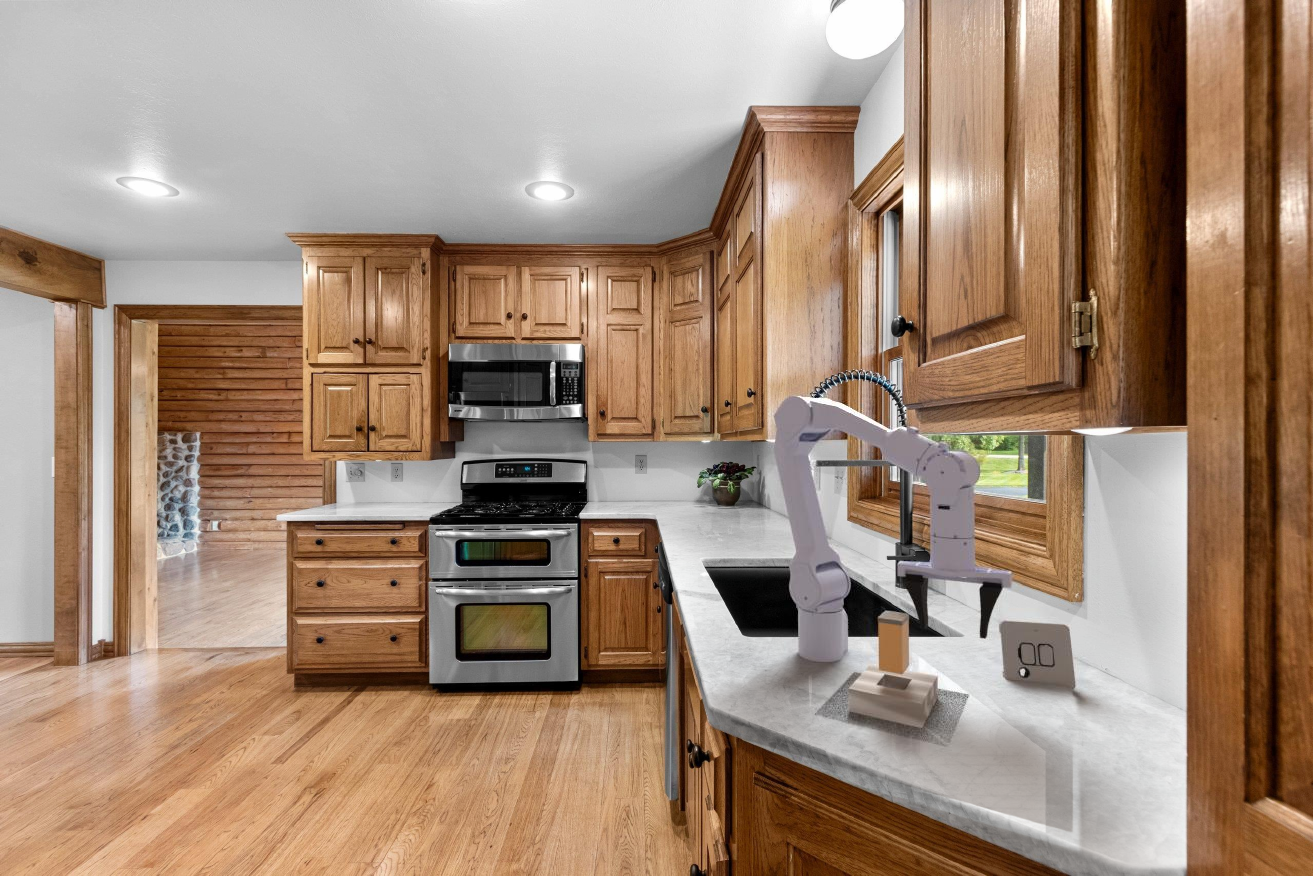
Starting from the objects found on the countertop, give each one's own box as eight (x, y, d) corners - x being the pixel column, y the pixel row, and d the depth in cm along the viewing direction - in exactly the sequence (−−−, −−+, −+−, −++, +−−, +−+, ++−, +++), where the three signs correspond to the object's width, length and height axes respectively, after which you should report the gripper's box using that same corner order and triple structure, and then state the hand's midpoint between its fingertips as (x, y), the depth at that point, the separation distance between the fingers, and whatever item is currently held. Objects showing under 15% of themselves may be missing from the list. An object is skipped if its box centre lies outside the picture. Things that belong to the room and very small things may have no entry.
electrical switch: (1004, 686, 93) (1002, 622, 94) (996, 677, 98) (994, 616, 99) (1077, 693, 90) (1074, 627, 91) (1064, 683, 95) (1062, 621, 96)
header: (854, 678, 96) (854, 652, 96) (969, 701, 88) (969, 673, 88) (813, 722, 81) (813, 691, 81) (948, 756, 73) (947, 721, 73)
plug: (886, 661, 87) (885, 610, 87) (909, 665, 85) (909, 613, 85) (878, 670, 84) (877, 617, 84) (902, 674, 82) (902, 621, 82)
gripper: (892, 535, 89) (893, 631, 89) (1008, 544, 81) (1009, 648, 81) (903, 529, 95) (904, 619, 95) (1012, 537, 87) (1013, 634, 87)
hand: (953, 632), depth 89 cm, fingers open, 7 cm apart
